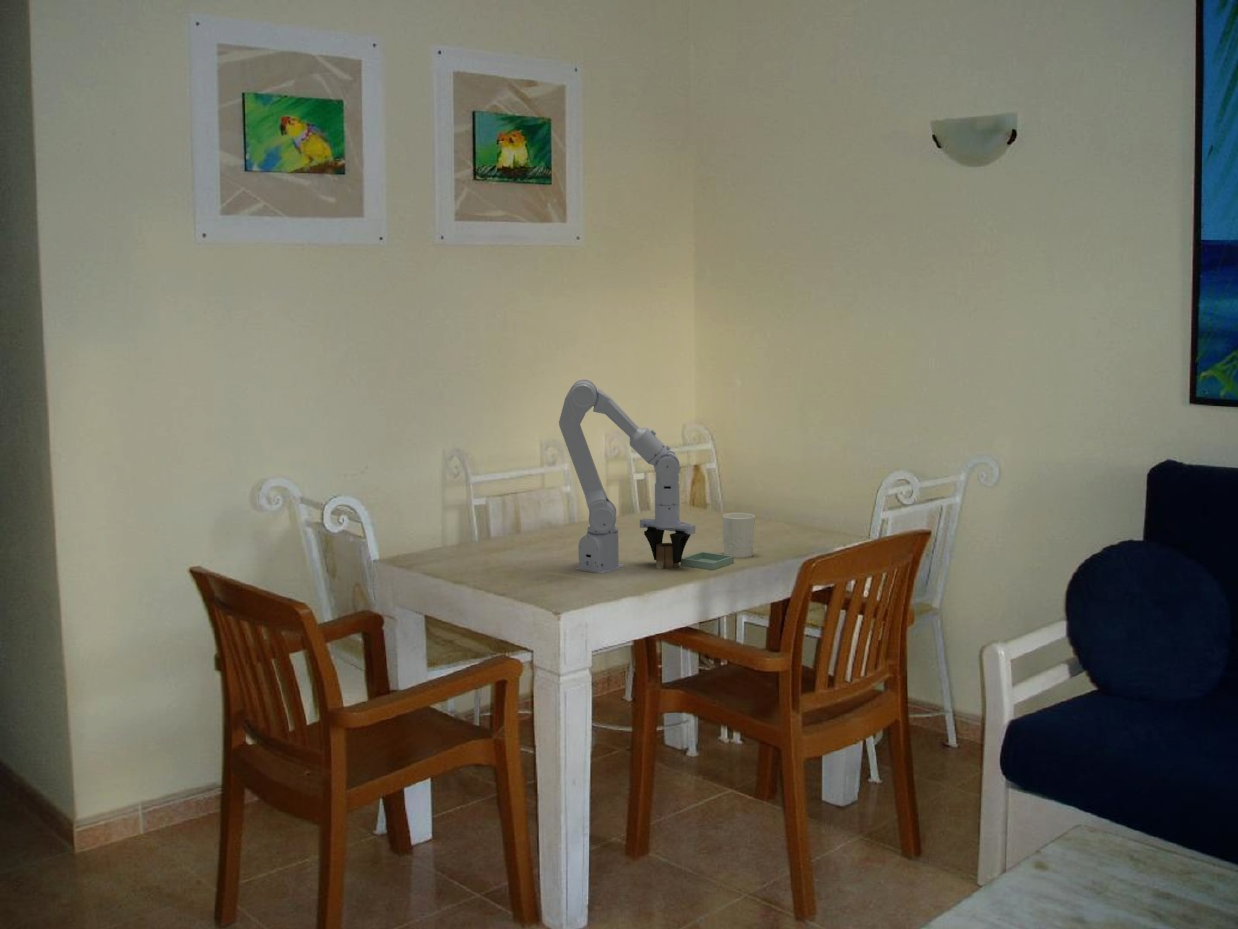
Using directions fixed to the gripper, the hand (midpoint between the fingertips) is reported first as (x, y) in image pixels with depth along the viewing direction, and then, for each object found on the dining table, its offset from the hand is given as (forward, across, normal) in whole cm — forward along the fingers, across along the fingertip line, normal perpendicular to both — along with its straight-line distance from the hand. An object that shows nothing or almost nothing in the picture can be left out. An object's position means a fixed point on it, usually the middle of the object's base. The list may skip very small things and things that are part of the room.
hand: (667, 561), depth 300 cm
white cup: (+2, -7, -20) cm, 21 cm away
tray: (+2, -6, -7) cm, 10 cm away
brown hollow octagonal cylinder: (+1, 0, 0) cm, 1 cm away
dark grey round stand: (+2, 0, 0) cm, 2 cm away
